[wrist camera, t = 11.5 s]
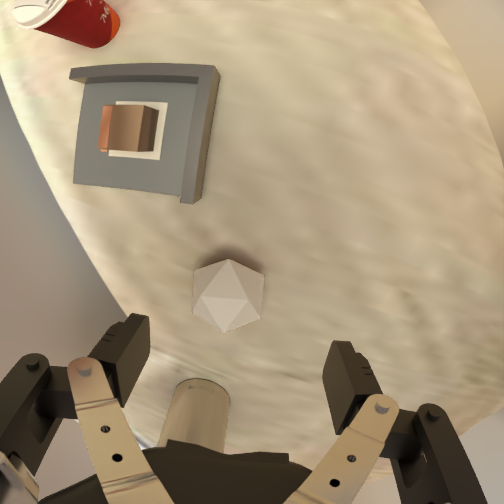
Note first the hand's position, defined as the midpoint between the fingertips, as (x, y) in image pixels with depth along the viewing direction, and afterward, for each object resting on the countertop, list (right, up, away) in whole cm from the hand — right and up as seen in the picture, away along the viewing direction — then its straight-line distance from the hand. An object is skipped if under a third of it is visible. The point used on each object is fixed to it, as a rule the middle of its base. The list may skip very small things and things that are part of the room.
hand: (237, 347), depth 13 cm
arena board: (-13, +19, +21) cm, 31 cm away
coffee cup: (-20, +34, +16) cm, 43 cm away
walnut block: (-13, +19, +20) cm, 30 cm away
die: (-2, 0, +27) cm, 27 cm away
